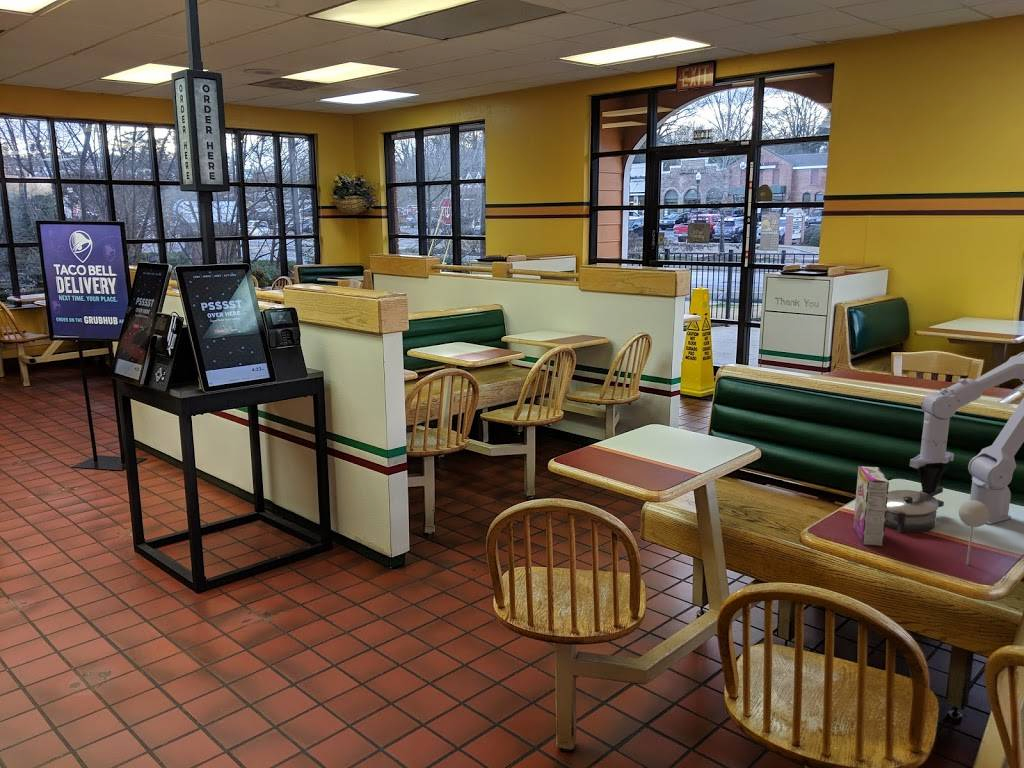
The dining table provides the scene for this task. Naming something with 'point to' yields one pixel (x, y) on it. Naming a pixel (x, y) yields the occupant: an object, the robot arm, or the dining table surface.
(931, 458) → the robot arm
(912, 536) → the dining table surface
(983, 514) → the lollipop
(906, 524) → the pot
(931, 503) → the lid
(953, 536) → the dining table surface
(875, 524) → the candy bar box
